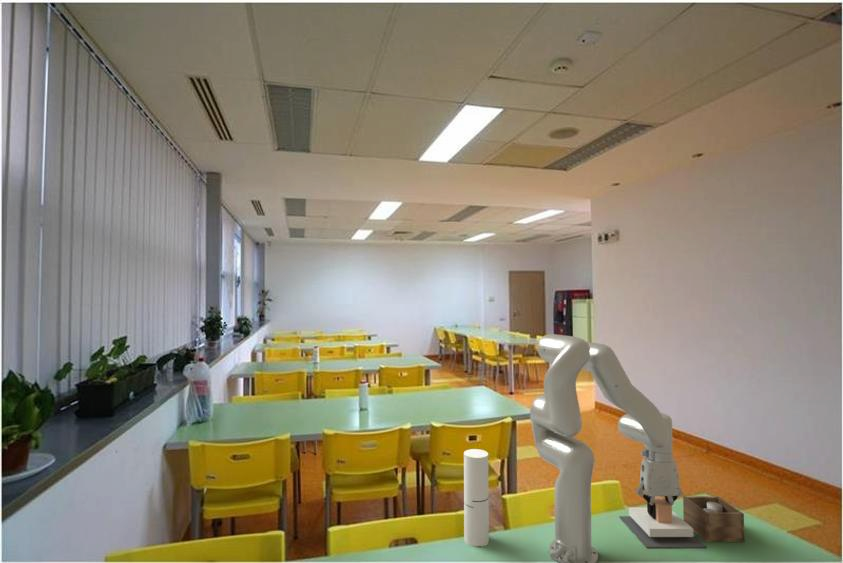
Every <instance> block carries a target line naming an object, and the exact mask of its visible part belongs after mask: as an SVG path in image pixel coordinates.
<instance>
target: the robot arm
mask: <svg viewBox="0 0 843 563" xmlns="http://www.w3.org/2000/svg"><path fill="white" fill-rule="evenodd" d="M536 348H537V353H538V355H539V357H540V359H542V360H543V361H544V362H545V363H546V362H547V363H549V364H550V366H548V369H547V371H546V373H545V375H544V378H543V391H544V393H543V394H539V395H538V396H536V397H535V398H534V399H533V401H532V403H531V405H530V407H529V408H530V410H529V418H530V423H531V429H532V434H533V435H532V436H533V440H534V443H535V448H536V451H537V453H538V455H539V457H540V458H541V459H543V460H544V461H545V462H547V463H548V464H550V465H552V466H554V467H555V468H556V469H558V470H559V474H558V477H557V478H556V481H555V484H554V534H555V535H554V536H555V537H554V538H555V539H554V540H553V541H551V542H550V544H549V553H550V555H549V556H550V559H551V560H552V561H553V562H555V561H557V562H559V563H598V561H599V555H598V554H599V553H598V551H597V550H596V549H595V548H594V547H593V545H592V543H593V542H592V540H593V538H592V537H593V536H592V477H593V472H594V467H595V462H596V461H595V454H594V453H593V450H592V449H591V447H590V446H588V444H586V443H585V442H583V441H582V440H580V439H578V438H576V437H575V436H577V435H578V434H579V433H580V432H581V430H582V426H583V425H582V424H583V423H582V421H583V420H582V414H581V409H580V404H579V399H578V393H577V379H578V376H579V374H580V372H581V371H582V370H584V371H588V372H589V373H590V375H591V376H592V377H593V379H594V380H595V382H596V384H597V386H598V388H599V389H600V391H601V393H602V395H603V397H604V398H605V399H606V400H607V401H608V402H609V403H611V404H612V405H614V406H615V407H617V408H619V409H620V410H622V411H623V412H625V413H626V414H623V415H622V416H621V417H620V418H619V420H618V422H617V429H618V431H619V433H620V434H621V435H622V436H624V437H625V438H627V439H629V440H632V441H635V442H638V443H641V444H643V445H644V448H643V450H641V451H640V455H641V457H642V459H641V463H640V464H641V465H640V471H639V472H640V473H639V484H638V486H637V487H636V490H635V493H636V494H637V495H638V496H640V497H641V498H643V499H644V500H645V501H646V502H647V503H646V504H647V505H646V507H647V512H648V514H649V515H650V516H651V517H652V518H653V519H655V518H656V510H655V505H654V500H655V496H661V497H663V499H664V500H665V501H667V502H668V503H669V504H670V505H671V506H672V507H673V505H674V503H675V501H676V500H677V499H678V498H679V497H681V496H682V495H683V494H684V492H683V491H682V489H681V487H680V482H681V481H680V476H679V470H678V466H677V462H676V460H674V454H673V453H674V452H673V448H674V447H673V445H674V444H673V420H672V418H671V416H670V415H668V414H666V413H663V412H662V413H661V412H660V410H659V409H658V408H657V406H656V405H655V404H654V402H652V401H651V400H650V399H649V398H647V396H645V395H644V393H643V392H641V391H640V390H639V389H638V388H636V387H635V386H634V385H633V383H631V381H630V379H629V377H628V374H627V372H625V371H626V370H624V368H623V366H622V364H621V362H620V360H619V358H618V357H617V354H616V353H615V351H614V350H613V349H612V348H611V347H610V346H609V345H606V344H603V343H598V342H589V341H586V340H584V339H583V338H581V337H577V336H573V335H563V334H556V333H549V334H545V335H543V336H542V337H541V338H539V340H538V342H537V346H536Z"/></svg>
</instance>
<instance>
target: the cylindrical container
mask: <svg viewBox="0 0 843 563" xmlns="http://www.w3.org/2000/svg"><path fill="white" fill-rule="evenodd" d="M489 492H490V491H489V453H488V452H487V451H486V450H484V449H479V448H478V449H477V448H470V449H467V450H464V452H463V503H464V504H463V515H464V516H463V520H464V521H463V527H464V528H463V534H464V535H463V538H464V543H465V544H467V543H468V544H467V545H469V546H471V545H472V546H471V547H475V546H481V547H484V546H483V545H485V544H487V543H488V544H489V542H490V532H489V531H490V529H489V528H490V527H489V526H490V524H489V522H490V517H489V515H490V514H489V509H490V508H489V506H490V505H489V495H490V494H489ZM488 541H489V542H488ZM488 544H487V545H488ZM485 546H486V545H485Z"/></svg>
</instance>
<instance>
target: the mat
mask: <svg viewBox="0 0 843 563" xmlns="http://www.w3.org/2000/svg"><path fill="white" fill-rule="evenodd" d="M619 517H620V518H619ZM618 518H619V519H620V521H621V522H623V524H624V523H625V524H626V525H627V526H628V527H629V528H628V527H627V526H626V525H625V524H624V525H625V526H626V527H627V528H628V529H629V530H630V531H631V533H632V534H633V533H634V534H635V535H636V536H637V537H636V536H635V535H634V534H633V535H634V536H635V537H636V538H637V539H638V541H639V542H640V543H641V544H642V543H643V544H642V545H643V546H644V548H646V549H707V545H706V544H704V543H703V542H702V541H701V540H700V539H699V538H697V536H695V534H693V537H649V536H648V535H647V533H646V532H645V531H644V530H643V529H642V528H641V527H640V526H639V525H638V524H637V523H636V522H635V521H634V520H633V519H632V518H631V517H630V515H628V516H627V515H624V516H623V515H621V516H620V515H619V516H618Z"/></svg>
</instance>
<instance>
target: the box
mask: <svg viewBox="0 0 843 563" xmlns="http://www.w3.org/2000/svg"><path fill="white" fill-rule="evenodd" d="M682 501H683V504H682V506H683V507H682V508H683V512H682V513H683V520H684V521H685V522H686V523H687V524H688V525H690V526H691V527H692V528H693V533H694V532H695V534H697V535H698V536H699V537H700V538H701V539H703V541H705V542H706V543H726V542H727V543H733V542H734V543H742V542H743V543H744V542H745V515H744V513H743V512H742V511H740V510H739V509H737V508H736V507H735V506H733V505H731V503H728V502H727V501H725V500H724V499H723V498H721V497H720V496H716V495H714V496H713V495H712V496H711V495H710V496H707V495H706V496H705V495H704V496H701V495H700V496H699V495H698V496H695V495H694V496H684V495H683V497H682Z"/></svg>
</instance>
